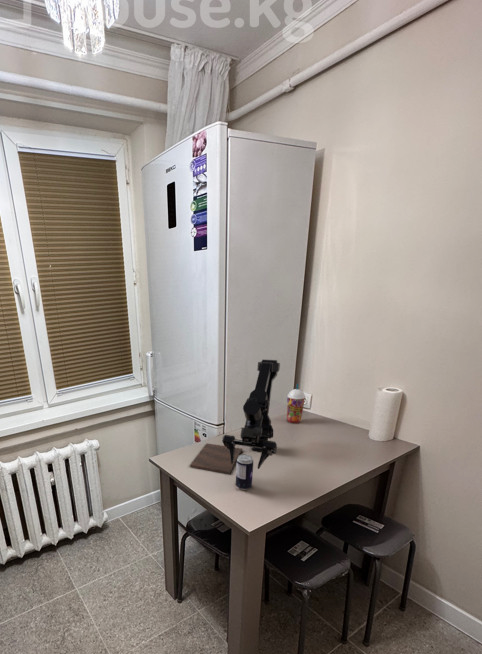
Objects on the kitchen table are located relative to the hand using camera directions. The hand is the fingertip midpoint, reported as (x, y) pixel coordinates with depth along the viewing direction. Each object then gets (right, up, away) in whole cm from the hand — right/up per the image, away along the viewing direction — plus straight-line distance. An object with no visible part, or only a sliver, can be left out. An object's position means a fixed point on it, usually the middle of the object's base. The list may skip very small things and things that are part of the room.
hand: (244, 466), depth 127 cm
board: (-5, 0, +24) cm, 25 cm away
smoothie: (+41, +15, +58) cm, 73 cm away
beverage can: (0, -8, +3) cm, 8 cm away
